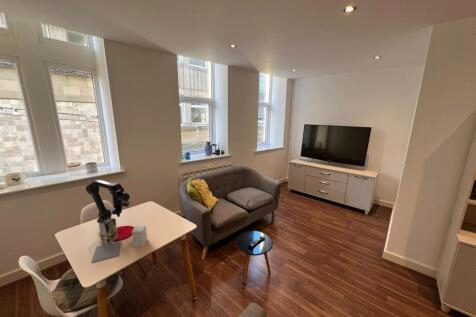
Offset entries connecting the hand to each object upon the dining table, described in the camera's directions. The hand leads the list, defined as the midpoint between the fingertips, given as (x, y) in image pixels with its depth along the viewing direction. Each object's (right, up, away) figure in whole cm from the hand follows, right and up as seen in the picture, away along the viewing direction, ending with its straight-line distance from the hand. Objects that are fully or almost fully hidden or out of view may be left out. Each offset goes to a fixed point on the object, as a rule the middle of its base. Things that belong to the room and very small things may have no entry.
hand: (119, 216), depth 158 cm
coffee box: (-1, -15, -10) cm, 18 cm away
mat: (+5, -18, -22) cm, 28 cm away
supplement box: (+24, -16, -12) cm, 31 cm away
